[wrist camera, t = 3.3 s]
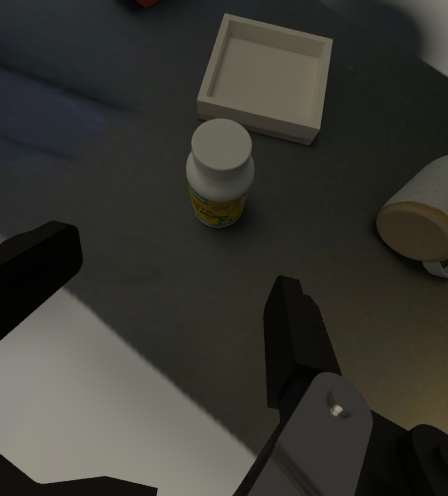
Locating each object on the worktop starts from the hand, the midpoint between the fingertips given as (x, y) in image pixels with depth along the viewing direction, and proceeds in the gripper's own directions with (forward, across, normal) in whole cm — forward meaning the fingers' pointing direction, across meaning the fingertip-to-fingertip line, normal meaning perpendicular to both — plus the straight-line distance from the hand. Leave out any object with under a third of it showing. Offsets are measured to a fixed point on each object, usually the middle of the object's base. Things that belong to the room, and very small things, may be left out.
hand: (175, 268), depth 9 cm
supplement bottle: (+16, 0, +3) cm, 16 cm away
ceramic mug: (+18, -22, +1) cm, 28 cm away
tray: (+28, -2, -9) cm, 29 cm away
